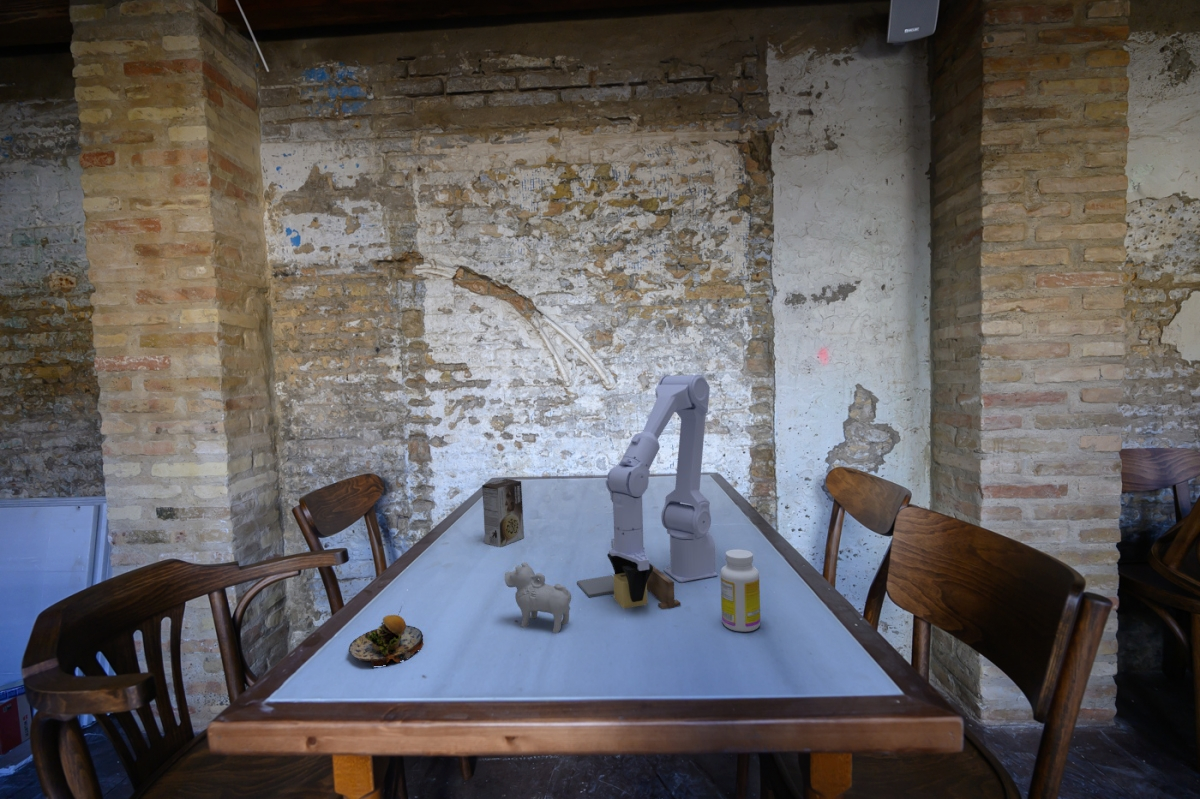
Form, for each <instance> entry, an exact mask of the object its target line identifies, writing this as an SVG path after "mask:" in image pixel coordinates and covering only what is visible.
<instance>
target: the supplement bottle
mask: <svg viewBox="0 0 1200 799" xmlns="http://www.w3.org/2000/svg"><path fill="white" fill-rule="evenodd" d="M725 561H726V564H725V565H724V566H722V567H721V569H720V597H721V598H720V602H721V603H720V605H721V621H722V624H723V625H724V626H725V627H726V629H729V630H731V631H735V632H742V633H745V632H746V633H747V632H753V631H755V630H757V629H758V628H759V627H760V625H761V599H760V597H761V595H760V593H761V592H760V591H761V590H760V572H759V570H758V569H757V568H756V567H755V566H754V565H753V562H754V553H752V552H751V551H750V550H746V549H729V550H727V551H725Z"/></svg>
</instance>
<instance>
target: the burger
mask: <svg viewBox="0 0 1200 799" xmlns="http://www.w3.org/2000/svg"><path fill="white" fill-rule="evenodd" d="M402 607H403V606H401V607H400V610H399V613H398V615H397V614H388V615H385V616H384V617H383V618H382V622H381V623H380V626H378V627H377V628H375V629H373V630H370V631H367V632H365V633H363V634H362V635H360V636H357V638H355V639H353V641H352V642H351V643H350V644H349V647H348V652H349V654H351V655H352V656H353V657H354V658H356V659H357V660H359V661H366V662H371V664H372V667H373V668H374V666H383V665H386V664H387V665H388V662H390V660H393V661H394V662H396V663H397V664H398V663H399V662H400V661H402V660H404V661H405V660H407V658H409V659H410V658H411V656H412V655H415V653H416V652H418V650H420V649H421V647H422V648H423V646H424V643H423V642H424V634H423V632H422V631H421V630H420V629H419V628H417V627H416V626H412V625H407V623H406V621H405V619H404V618H403V617H402V616H401V615H400V613H401V610H402V609H403V608H402ZM421 650H422V649H421ZM421 650H420V651H421ZM400 663H401V662H400Z"/></svg>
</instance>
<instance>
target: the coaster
mask: <svg viewBox="0 0 1200 799" xmlns="http://www.w3.org/2000/svg"><path fill="white" fill-rule="evenodd" d="M576 585H577V586H578V587H579V588H580V589H581V590H582V592H583V593H584V594H585V595H586V596H587V597H588V598H590V599H591V598H595V597H600V596H606V595H607V596H608V595H612V594H614V575H612V574H611V575H605V576H598V577H593V578H587V579H581V580H576Z"/></svg>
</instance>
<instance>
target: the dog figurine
mask: <svg viewBox="0 0 1200 799" xmlns="http://www.w3.org/2000/svg"><path fill="white" fill-rule="evenodd" d="M514 569H515V570H513V571H507V572H505V573H504V582H505V585H506V587H508V588H516V592H515V597H514V598H515V602H516V605H517V607H519V609H520V612H521V614H522V615H521V616H522V621H521V624H520V627H521V628H523V629H524V628H527V627H528V626H529V624H530V622H529V619H534V620H535V619H536V618H538V614H539V612H540V613H541V612H542V613H547V614H551V615H552V616H553V622H554V623H553V629H552V633H553V634H558V633H559V632H561V628H562V627H561V626H562V625H565V624H568V623H569V622H570V610H571V607H570V603H571V601H572V594H571V591H569V590H568V589H567V588H566V586H564V585H562V584H560V583H555V584H554V585H551V584H547V583H546V578H545V575H544V574H543V573H540V572H538V573H535V571H534V570H533V568H532V567H531V566H530V565H529V563H527V562H525V561H524V562H522V563H521V565H516V566H515V568H514Z"/></svg>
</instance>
